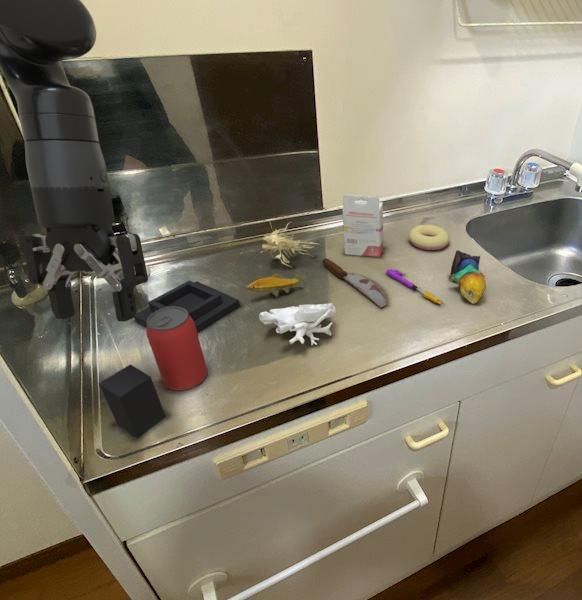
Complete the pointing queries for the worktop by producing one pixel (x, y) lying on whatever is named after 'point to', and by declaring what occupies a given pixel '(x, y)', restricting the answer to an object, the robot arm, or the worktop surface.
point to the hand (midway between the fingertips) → (95, 318)
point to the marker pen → (411, 284)
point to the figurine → (468, 276)
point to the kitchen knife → (359, 283)
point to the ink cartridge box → (362, 225)
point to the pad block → (133, 400)
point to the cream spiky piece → (283, 244)
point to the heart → (300, 320)
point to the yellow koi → (276, 284)
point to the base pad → (192, 304)
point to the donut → (429, 237)
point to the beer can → (176, 348)
